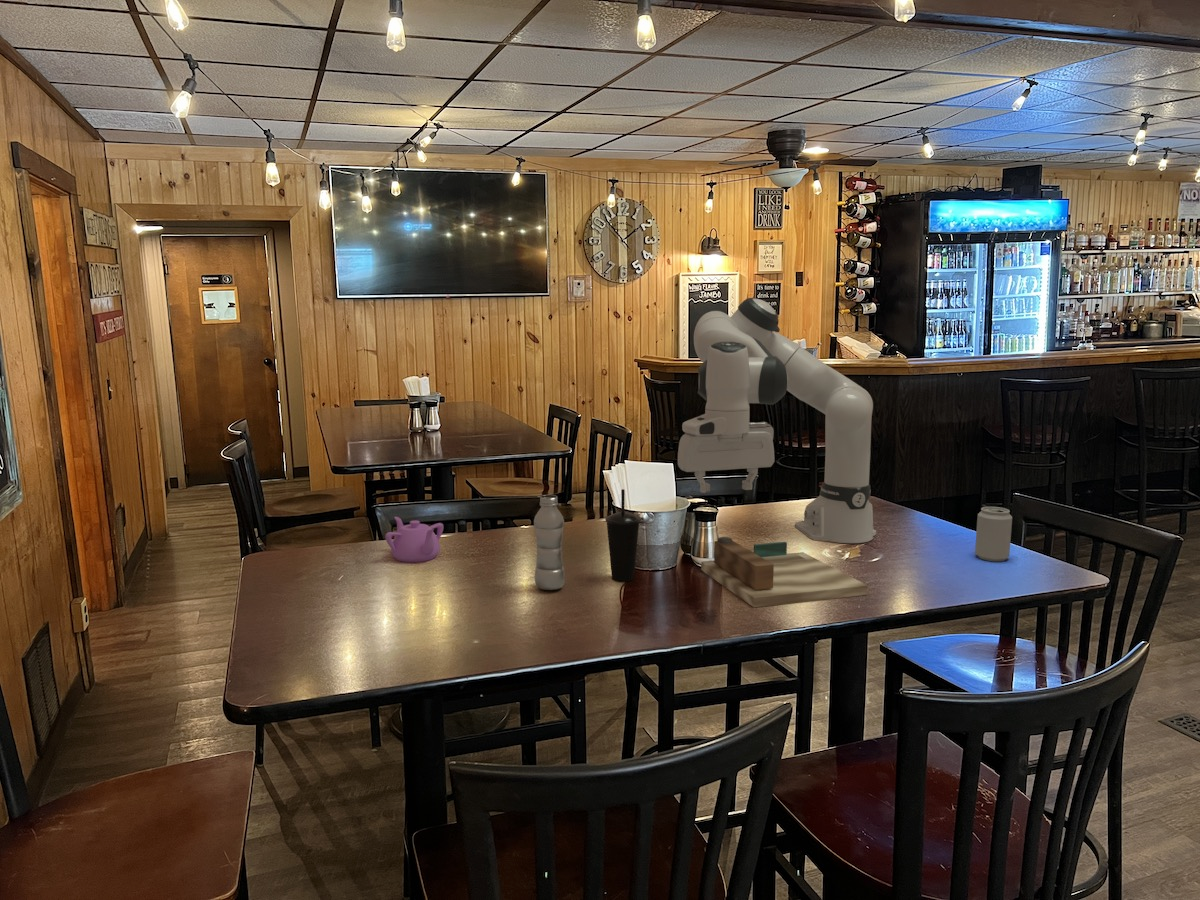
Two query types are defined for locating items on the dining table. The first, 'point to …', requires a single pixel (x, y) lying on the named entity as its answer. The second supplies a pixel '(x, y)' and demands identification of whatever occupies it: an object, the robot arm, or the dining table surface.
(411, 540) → the teapot
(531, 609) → the dining table surface
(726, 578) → the stool seat
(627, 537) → the drinking cup
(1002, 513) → the can
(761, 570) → the walnut leg
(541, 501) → the plastic bottle
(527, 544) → the dining table surface
